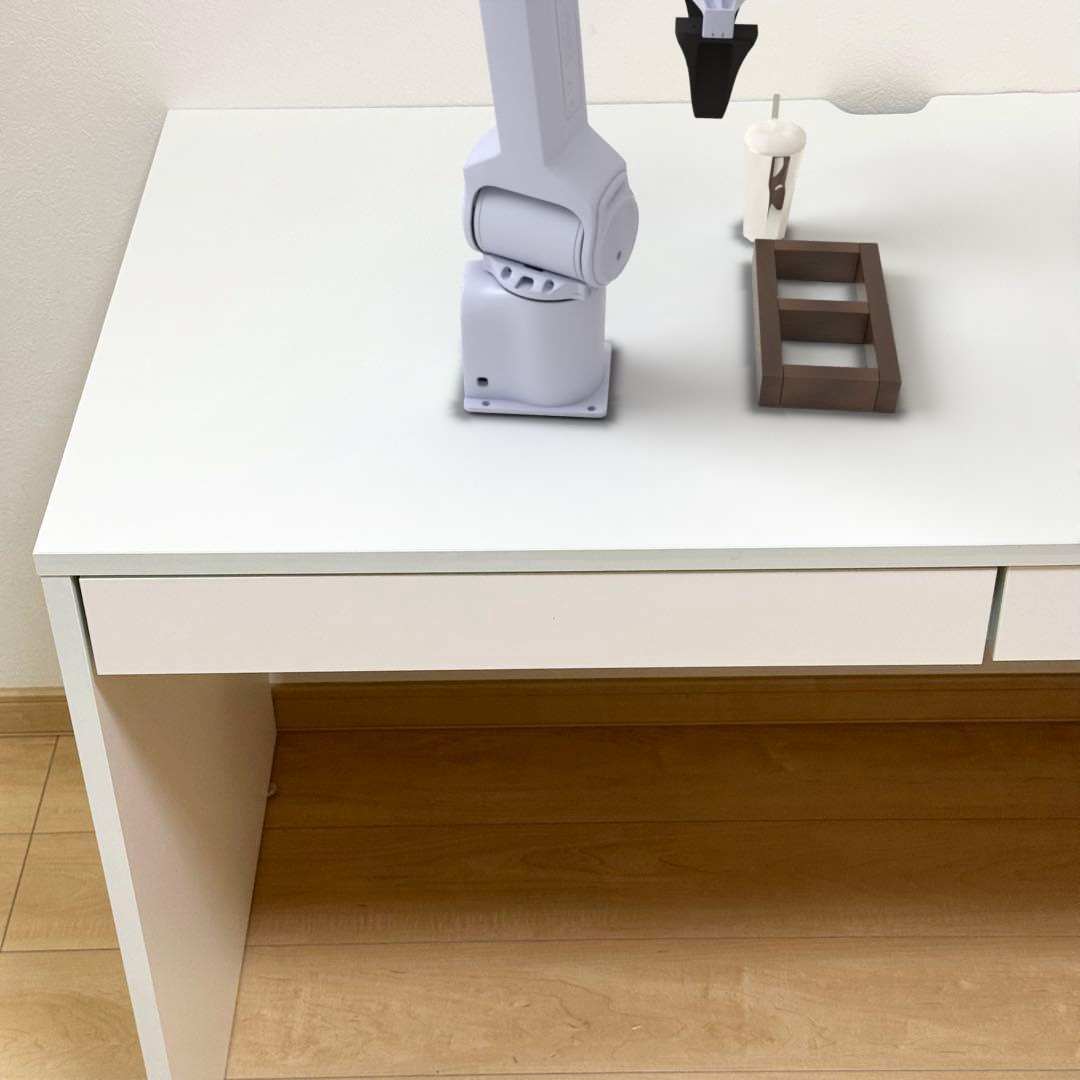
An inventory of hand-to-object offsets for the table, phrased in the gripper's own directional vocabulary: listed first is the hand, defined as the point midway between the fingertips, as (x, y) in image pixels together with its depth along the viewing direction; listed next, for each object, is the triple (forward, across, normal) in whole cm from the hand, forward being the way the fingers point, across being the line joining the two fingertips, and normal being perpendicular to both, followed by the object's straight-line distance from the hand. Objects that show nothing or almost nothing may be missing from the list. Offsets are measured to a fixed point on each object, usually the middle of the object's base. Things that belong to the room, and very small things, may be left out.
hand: (708, 91), depth 100 cm
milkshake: (+11, -2, -5) cm, 12 cm away
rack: (+10, -16, -8) cm, 21 cm away
